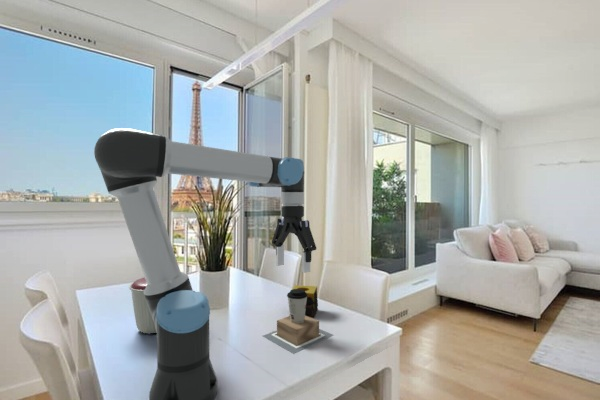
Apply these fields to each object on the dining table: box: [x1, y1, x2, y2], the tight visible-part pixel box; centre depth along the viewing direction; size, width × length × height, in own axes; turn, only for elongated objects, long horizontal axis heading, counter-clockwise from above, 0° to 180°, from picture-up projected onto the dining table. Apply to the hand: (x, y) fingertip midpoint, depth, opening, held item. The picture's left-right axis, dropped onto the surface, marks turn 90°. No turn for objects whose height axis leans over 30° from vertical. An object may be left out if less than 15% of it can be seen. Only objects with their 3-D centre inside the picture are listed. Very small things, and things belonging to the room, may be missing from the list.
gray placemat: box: [262, 328, 334, 355], centre depth 103 cm, size 18×16×1 cm
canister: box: [128, 276, 156, 334], centre depth 111 cm, size 18×18×21 cm
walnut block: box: [276, 315, 320, 346], centre depth 103 cm, size 10×10×5 cm
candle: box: [291, 285, 319, 319], centre depth 124 cm, size 10×10×10 cm
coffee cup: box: [286, 288, 308, 324], centre depth 103 cm, size 7×7×10 cm
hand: (292, 268), depth 103 cm, fingers open, 13 cm apart
